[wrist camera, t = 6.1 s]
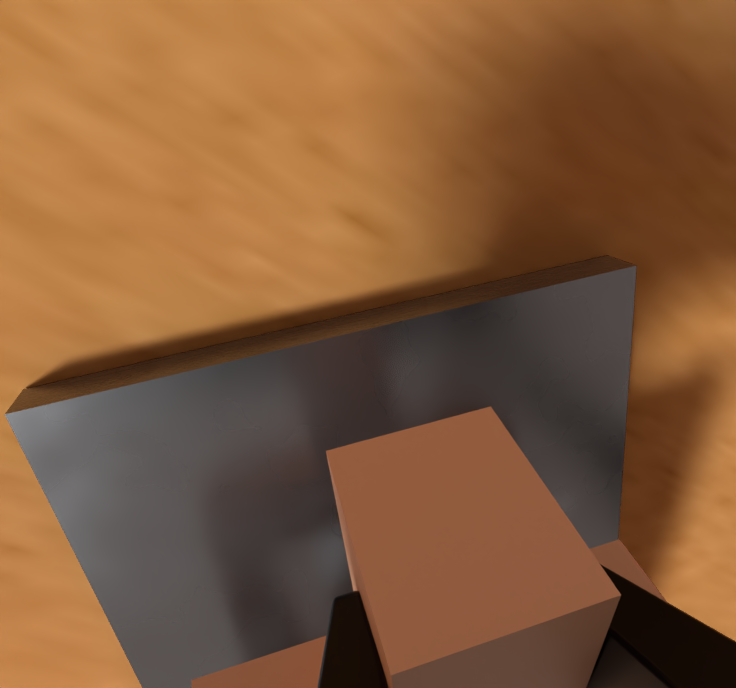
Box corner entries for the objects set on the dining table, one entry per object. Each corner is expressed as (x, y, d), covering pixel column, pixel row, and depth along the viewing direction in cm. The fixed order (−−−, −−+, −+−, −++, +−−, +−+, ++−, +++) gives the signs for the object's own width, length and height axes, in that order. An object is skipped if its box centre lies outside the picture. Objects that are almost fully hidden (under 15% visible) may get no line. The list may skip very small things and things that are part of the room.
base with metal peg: (607, 255, 13) (915, 363, 7) (588, 683, 19) (740, 915, 14) (23, 389, 11) (-204, 699, 5) (228, 820, 17) (232, 1161, 12)
